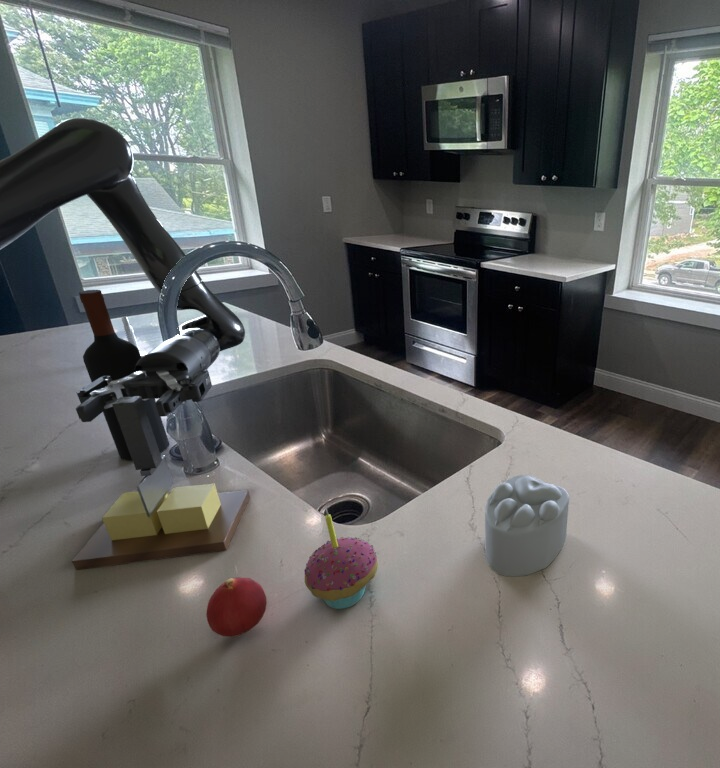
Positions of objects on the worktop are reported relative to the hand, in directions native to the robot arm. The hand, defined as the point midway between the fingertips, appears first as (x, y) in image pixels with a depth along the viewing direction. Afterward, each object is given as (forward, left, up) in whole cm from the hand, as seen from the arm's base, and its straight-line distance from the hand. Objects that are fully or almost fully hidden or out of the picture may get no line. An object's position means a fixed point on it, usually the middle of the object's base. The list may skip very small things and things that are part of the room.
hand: (122, 412), depth 59 cm
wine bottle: (-14, +27, -21) cm, 36 cm away
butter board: (0, +2, -20) cm, 20 cm away
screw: (-36, +76, -21) cm, 86 cm away
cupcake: (+26, -15, -21) cm, 36 cm away
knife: (0, +2, -15) cm, 15 cm away
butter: (0, +2, -19) cm, 19 cm away
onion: (+15, -18, -21) cm, 31 cm away
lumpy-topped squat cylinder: (+50, -11, -21) cm, 55 cm away
